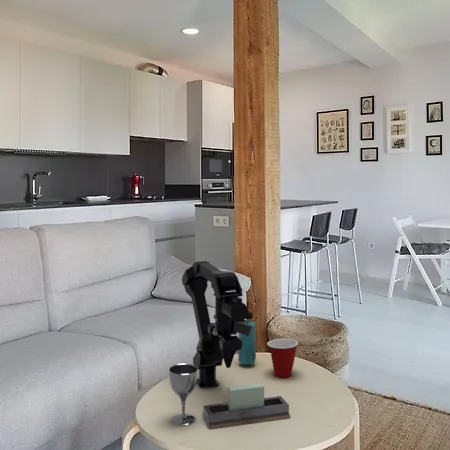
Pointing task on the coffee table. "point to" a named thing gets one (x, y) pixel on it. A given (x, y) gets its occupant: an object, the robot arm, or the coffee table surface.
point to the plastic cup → (283, 356)
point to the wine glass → (183, 389)
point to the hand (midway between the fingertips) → (224, 362)
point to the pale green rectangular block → (246, 396)
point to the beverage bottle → (248, 344)
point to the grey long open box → (245, 413)
